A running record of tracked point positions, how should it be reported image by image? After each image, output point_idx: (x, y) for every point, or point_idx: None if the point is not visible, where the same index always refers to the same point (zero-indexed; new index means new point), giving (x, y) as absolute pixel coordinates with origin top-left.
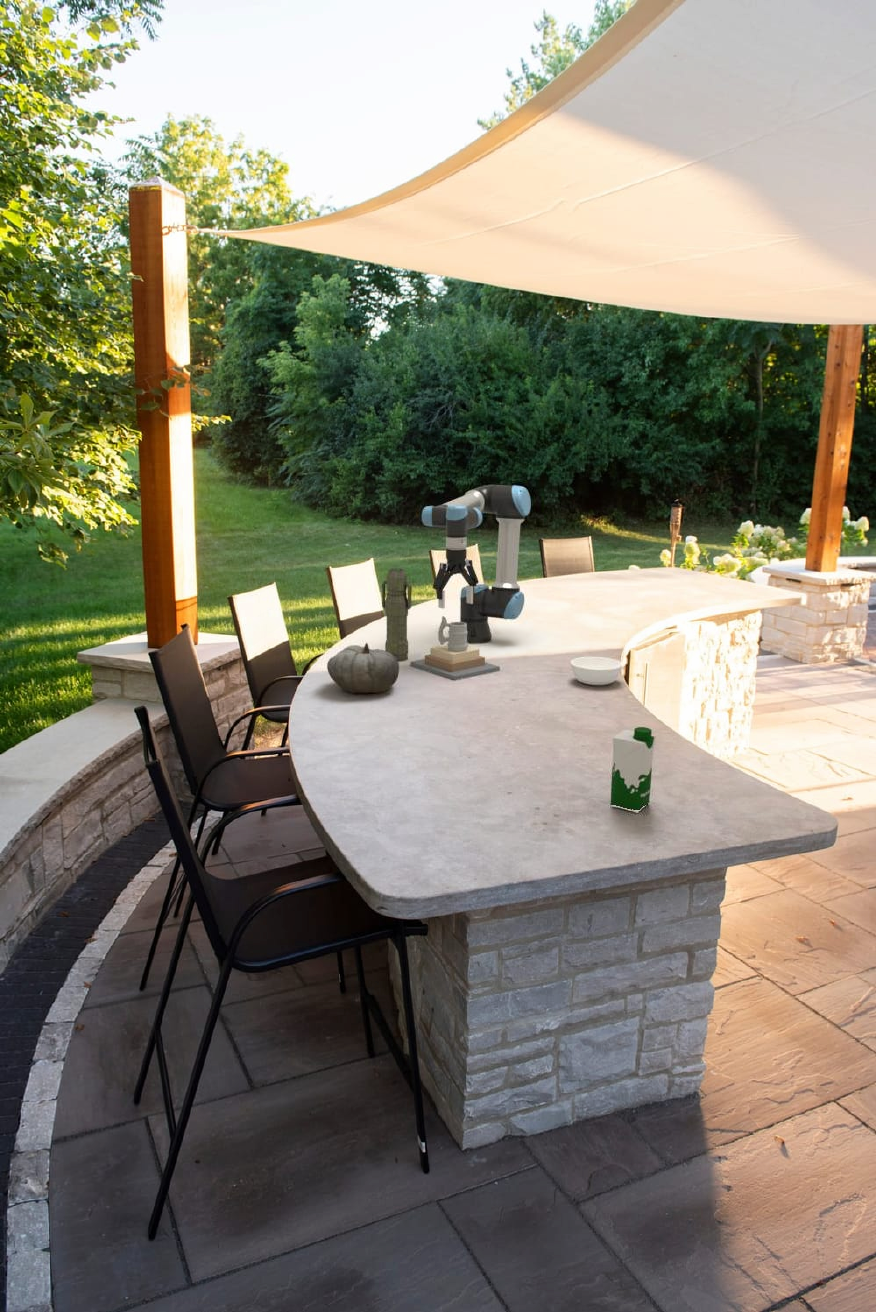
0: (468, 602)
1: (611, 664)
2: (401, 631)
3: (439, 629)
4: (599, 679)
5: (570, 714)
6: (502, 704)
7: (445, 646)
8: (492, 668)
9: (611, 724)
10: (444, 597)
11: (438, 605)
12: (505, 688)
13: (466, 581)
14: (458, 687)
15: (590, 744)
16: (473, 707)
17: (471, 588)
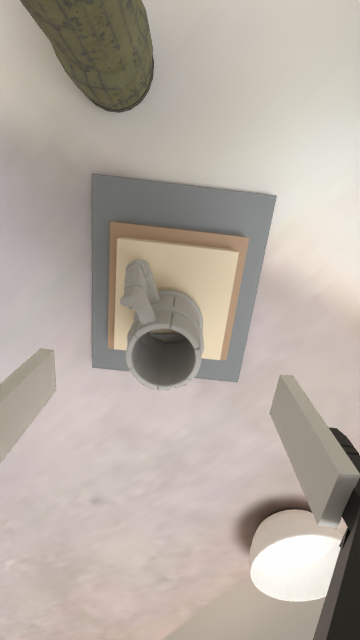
0: (277, 393)
1: None
2: (66, 46)
3: (125, 275)
4: (261, 564)
5: (111, 575)
6: (63, 503)
7: (169, 262)
8: (213, 379)
9: (121, 614)
10: (14, 441)
11: (34, 354)
12: (137, 458)
13: (357, 523)
14: (66, 400)
15: (44, 627)
16: (10, 485)
17: (311, 507)
